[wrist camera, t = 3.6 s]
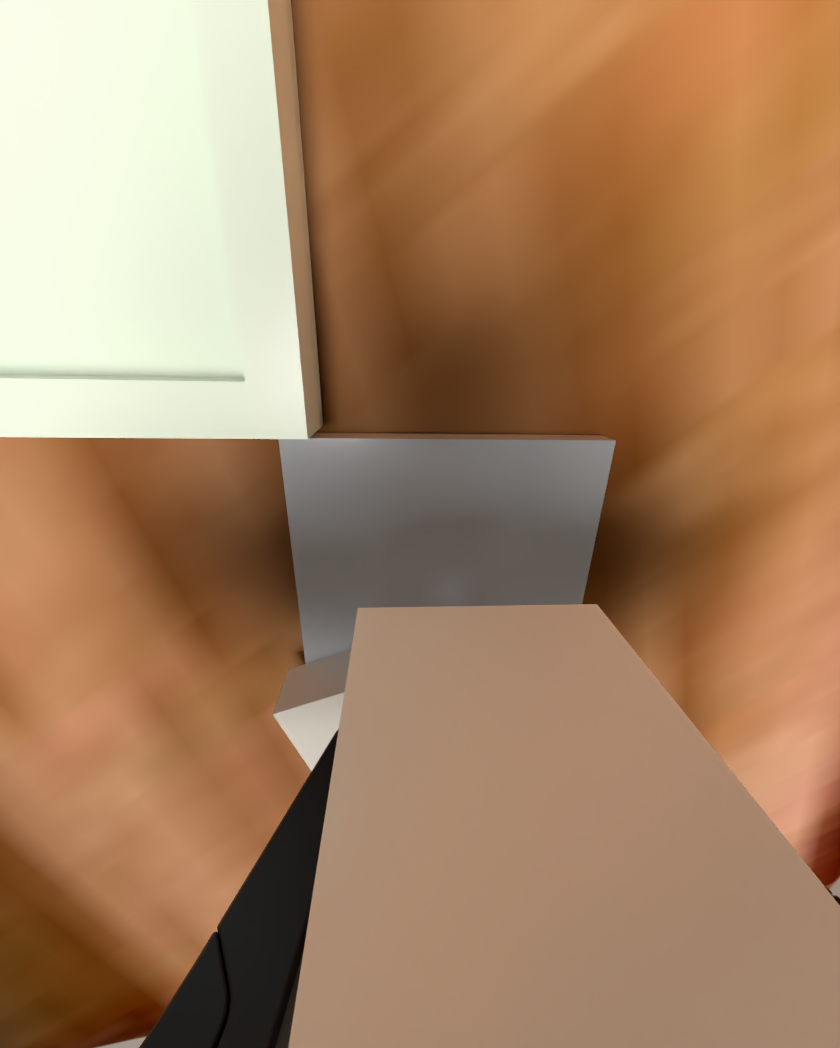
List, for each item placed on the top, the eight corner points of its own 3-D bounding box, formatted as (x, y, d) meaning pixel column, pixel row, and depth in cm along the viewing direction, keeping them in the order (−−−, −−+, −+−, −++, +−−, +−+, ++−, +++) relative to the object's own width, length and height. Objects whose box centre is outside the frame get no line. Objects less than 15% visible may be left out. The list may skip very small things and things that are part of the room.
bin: (323, 425, 13) (307, 438, 11) (-104, 421, 13) (-214, 435, 10) (273, -237, 8) (224, -467, 6) (-454, -308, 8) (-832, -604, 5)
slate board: (557, 702, 19) (587, 765, 16) (301, 709, 18) (283, 777, 15) (612, 435, 14) (668, 455, 11) (265, 432, 13) (228, 452, 10)
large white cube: (560, 766, 10) (748, 1240, 5) (366, 774, 10) (328, 1285, 4) (596, 603, 8) (984, 1085, 3) (357, 607, 8) (271, 1150, 3)
